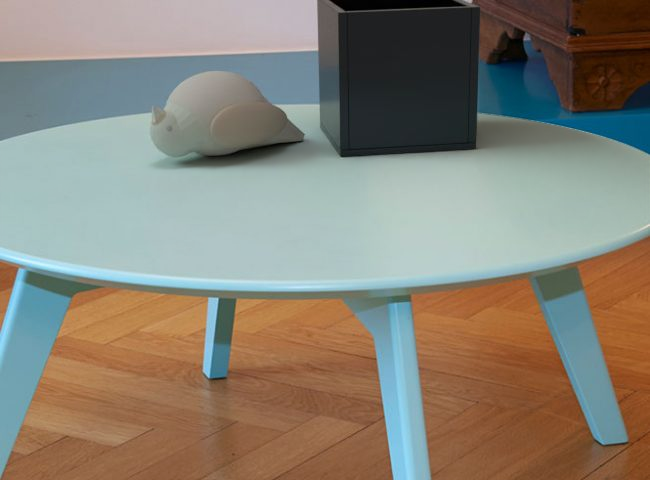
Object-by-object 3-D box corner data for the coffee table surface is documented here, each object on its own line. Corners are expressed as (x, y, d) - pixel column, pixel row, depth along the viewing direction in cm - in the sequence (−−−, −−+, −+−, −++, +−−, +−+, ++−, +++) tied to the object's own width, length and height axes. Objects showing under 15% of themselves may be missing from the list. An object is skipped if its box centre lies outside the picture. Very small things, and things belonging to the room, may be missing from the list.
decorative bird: (129, 159, 103) (122, 76, 100) (263, 130, 113) (260, 54, 110) (188, 176, 97) (182, 87, 94) (324, 144, 107) (322, 63, 104)
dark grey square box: (442, 120, 115) (444, -8, 110) (476, 149, 104) (480, 6, 99) (320, 127, 114) (316, -3, 109) (340, 156, 102) (338, 12, 97)
